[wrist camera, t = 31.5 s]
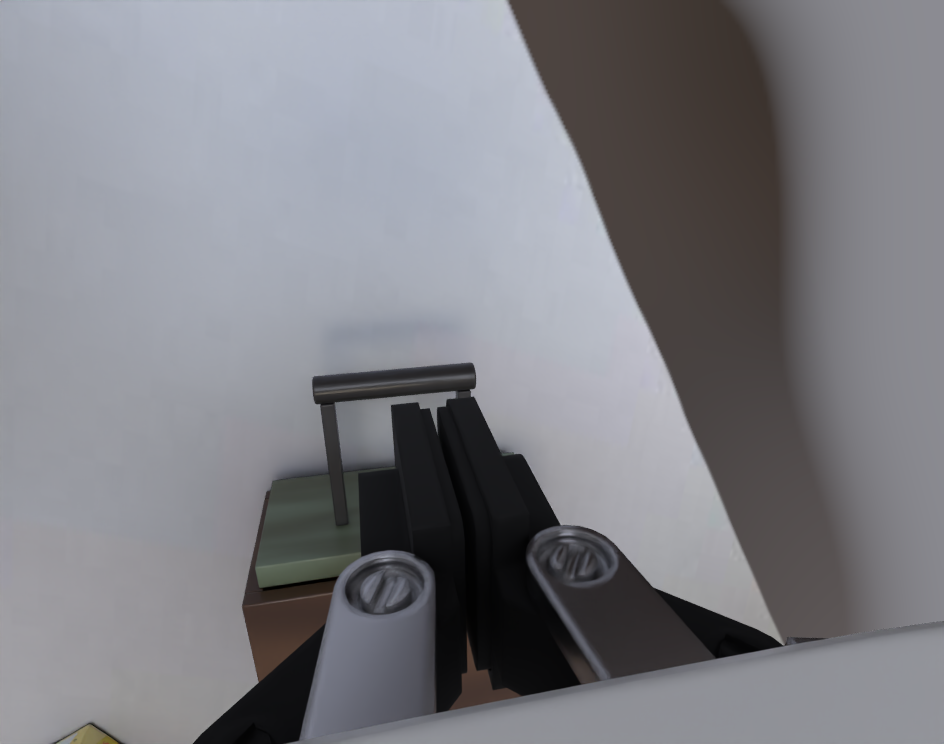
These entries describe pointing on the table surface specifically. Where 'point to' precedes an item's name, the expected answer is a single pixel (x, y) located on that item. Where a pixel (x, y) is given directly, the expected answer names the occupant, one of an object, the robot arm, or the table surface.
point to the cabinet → (305, 611)
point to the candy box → (88, 737)
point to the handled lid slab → (336, 481)
